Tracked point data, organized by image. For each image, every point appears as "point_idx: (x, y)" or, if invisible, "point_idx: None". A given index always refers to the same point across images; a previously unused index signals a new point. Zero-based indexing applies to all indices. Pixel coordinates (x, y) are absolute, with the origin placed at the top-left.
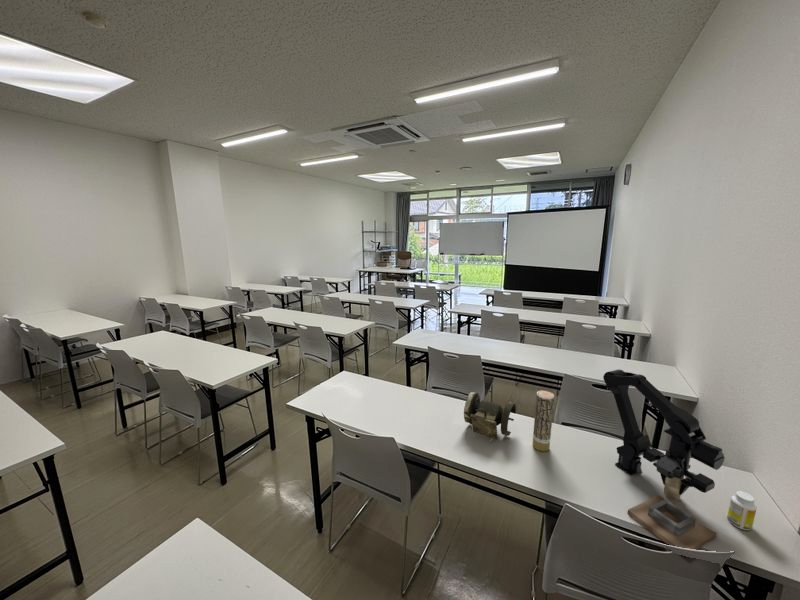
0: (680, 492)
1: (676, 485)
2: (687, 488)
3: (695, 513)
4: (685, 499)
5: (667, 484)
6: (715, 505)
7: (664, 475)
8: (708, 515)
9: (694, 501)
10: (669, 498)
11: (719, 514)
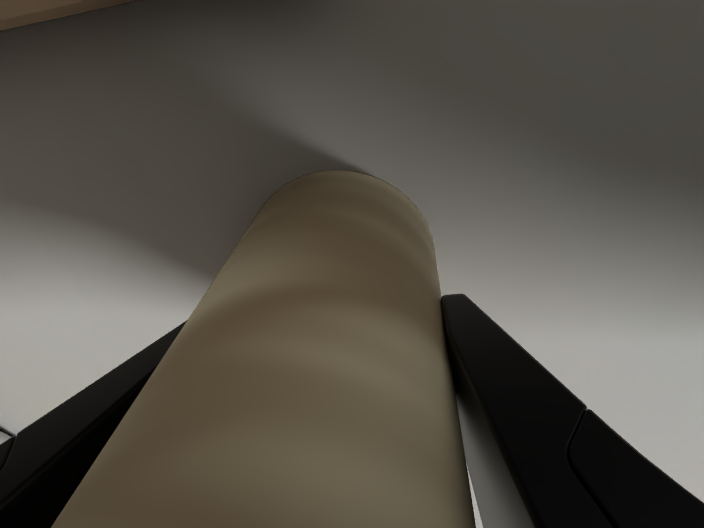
0: (165, 346)
1: (133, 410)
2: None
3: (49, 251)
4: None
5: (326, 294)
6: None
7: (504, 481)
8: (40, 345)
9: None
10: (298, 179)
11: None
